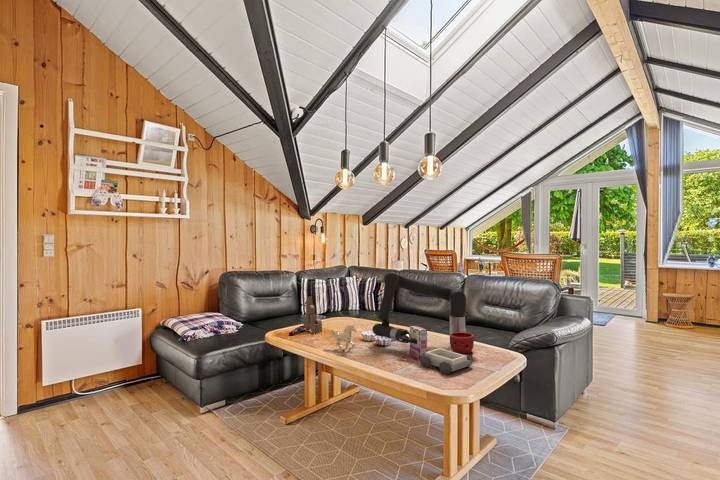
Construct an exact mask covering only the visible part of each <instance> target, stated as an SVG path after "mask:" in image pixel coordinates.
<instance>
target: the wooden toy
mask: <svg viewBox="0 0 720 480" xmlns="http://www.w3.org/2000/svg"><path fill="white" fill-rule="evenodd" d="M304 305H305V316H304V317H303V321H302V323H303V326H304V327H305V328H306V329H307V330H310V329H311V330H310V331H311V334H313V333H318V334H320V333H319V332H321V333H323V321H322V319H321V318H319V317H318V318H317V314H316V307H315V305H314V304H313V296H308V297H307V299H306V300H305V301H304Z"/></svg>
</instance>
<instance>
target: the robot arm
mask: <svg viewBox="0 0 720 480" xmlns="http://www.w3.org/2000/svg"><path fill="white" fill-rule="evenodd" d="M383 283H384V291H383V295H382V299H381V302H380V306H379V309H378V310H379V311H378V315H377V317H378V320H380V321H381V323H375V324H374V325H373V326H372V328H371V329H372V333H373V334H374V335H375V336H377V337H384V338H388V339H390V340H393V341H396V342H398V343H402V344H410V343H414V344H417V340H415V339H411V337H410V331H408V330H407V329H404V328H401V327H394V326H390V315H391V311H392V306H393V299H394V296H395V292H396V290H397V288H398V289H399V288H400V289H403V290H406V291H409V292H411V293H413V294H416V295H419V296H423V297H426V298H427V297H428V298H437V299H442V300H445V301H447V302H450V310H449V335H450V334H451V333H455V332H465V333H467V328H466V311H467V297H466V293H464V291H461V290H460V289H455V288H452V287H451V288H450V287H444V286H441V285H439V284H436V283H433V282H431V281H427V280H422V279H418V278H413V277H407V276H404V275H401V274H398V273H396V272H394V271H388V272H386V273H385V274H384V275H383Z"/></svg>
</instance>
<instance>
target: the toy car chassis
mask: <svg viewBox="0 0 720 480" xmlns="http://www.w3.org/2000/svg"><path fill="white" fill-rule="evenodd" d="M452 351H453V350H452ZM452 351H451V350H450V348H441V347H438V348H435V349H432V350H427V352H425V355H422V356H421V357H420V361H419V363H420V365H421V367H423V368H429V367H430V365H432V366H435V367H438V368H439V371H440V373H442V374H443V375H450V373H451V372H455V371H458V370H460V369H463V368H468V367H471V366H472V365H473V359H472V356H471V357H470V356H469V355H467V354H465V355H462V354H458V353H455V352H452Z"/></svg>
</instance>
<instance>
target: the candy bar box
mask: <svg viewBox="0 0 720 480" xmlns="http://www.w3.org/2000/svg"><path fill="white" fill-rule="evenodd" d="M409 333H410V337H411V339H415V340H417V344H414V343H409V356H411V357H412V358H413V359H416V360H418V361H419V362H420V357H421V356H422V355H425V352H428V329H427V328H426V329H425V328H423V327H420V326H418V325H412V326H411V325H410V326H409Z"/></svg>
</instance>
